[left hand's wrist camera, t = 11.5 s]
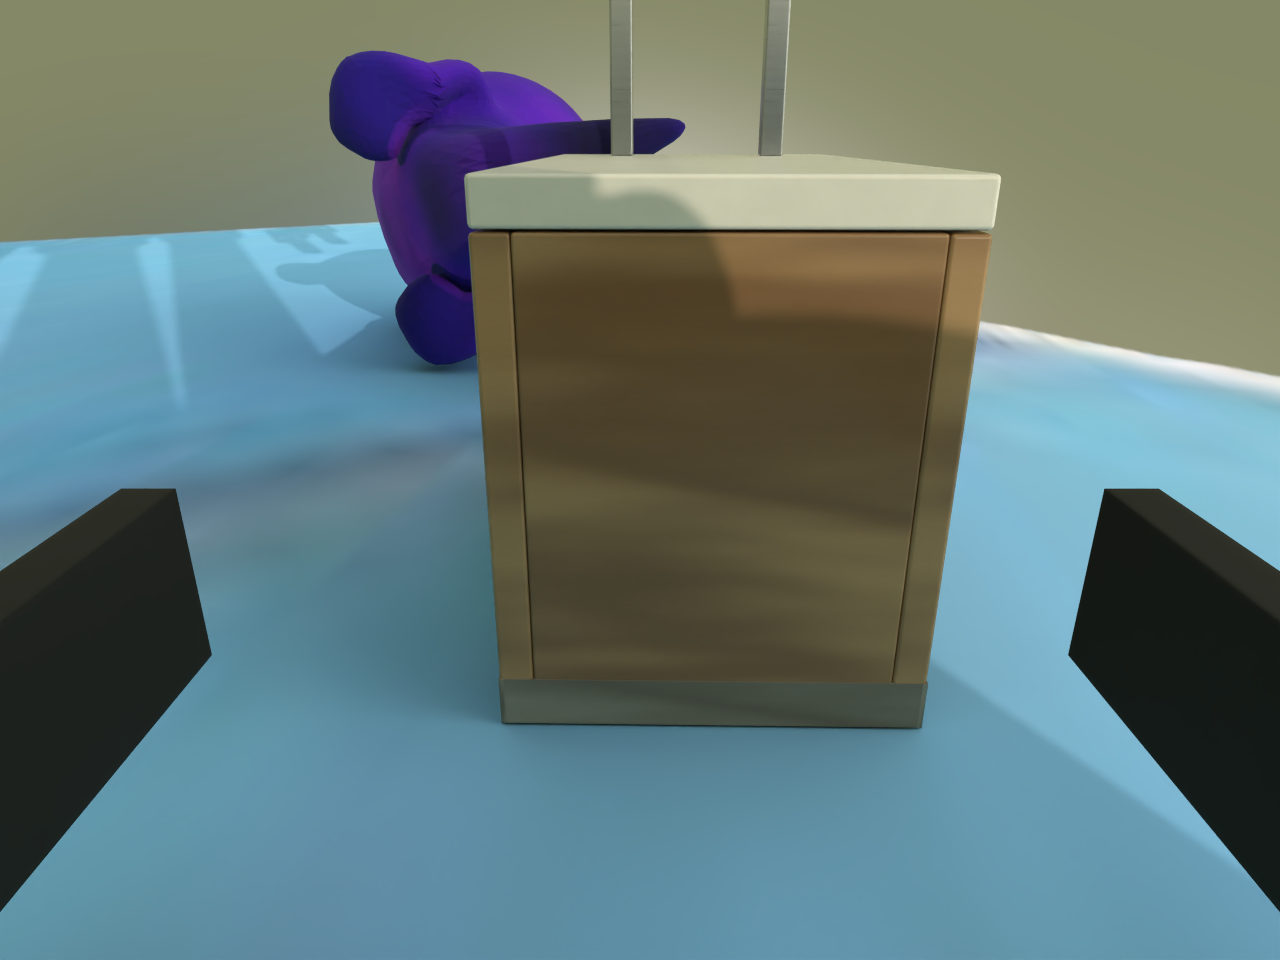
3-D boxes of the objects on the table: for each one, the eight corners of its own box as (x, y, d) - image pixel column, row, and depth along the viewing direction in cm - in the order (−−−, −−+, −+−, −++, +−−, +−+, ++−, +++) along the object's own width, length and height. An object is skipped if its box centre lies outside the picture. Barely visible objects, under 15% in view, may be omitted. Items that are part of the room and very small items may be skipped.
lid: (563, 182, 31) (554, -113, 27) (822, 182, 30) (844, -114, 27) (467, 229, 15) (418, -440, 12) (995, 230, 15) (1096, -446, 12)
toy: (355, 407, 39) (447, 341, 66) (727, 305, 39) (669, 279, 66) (220, 38, 35) (376, 126, 61) (638, -79, 35) (614, 59, 61)
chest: (570, 462, 34) (561, 183, 30) (803, 463, 34) (824, 184, 30) (501, 722, 19) (466, 232, 15) (921, 728, 19) (995, 233, 15)
